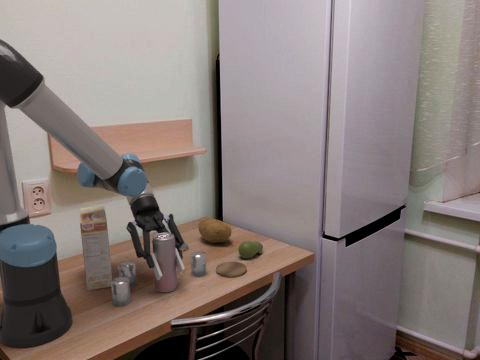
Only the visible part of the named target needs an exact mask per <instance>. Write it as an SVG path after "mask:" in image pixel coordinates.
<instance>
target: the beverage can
mask: <svg viewBox="0 0 480 360" xmlns="http://www.w3.org/2000/svg"><path fill="white" fill-rule="evenodd" d="M151 243H152V254H153V253H154V255H155V257H156V260H157V262H158V265H159V268H160V270H161V273H162V277H161V278H160V280H157V279H156V276H155V274H154V273H153V275H154V276H153V277H154V288H155V290H156V291H157V292H159V293H162V294H163V293H170V292H173V291H175V290H176V288H178V287H177V286H178V280H177V278H178V275H177V274H178V273H177V266H176V251H175V238H174V235H173V234H171V233H159V234H156V235H154V234H153V235H152V241H151Z"/></svg>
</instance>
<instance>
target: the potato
mask: <svg viewBox="0 0 480 360" xmlns="http://www.w3.org/2000/svg"><path fill="white" fill-rule="evenodd" d="M198 221H199V220H198ZM197 227H198V232H199V234H200V235H201V238H203V239H204V240H206V241H208V242H209V243H212V244H215V243H216V244H217V243H224V242H226V241H227V240H228V239H230V237H231V236H232V232H233V231H232V228H231V226H230V225H229V224H228V223H226V222H224V221H222V220H219V219H215V218H212V217H204V218H202V219H200V221H199V222H198V226H197Z"/></svg>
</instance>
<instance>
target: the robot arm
mask: <svg viewBox="0 0 480 360" xmlns="http://www.w3.org/2000/svg"><path fill="white" fill-rule="evenodd" d="M45 79H46V78H45V76H44V74H42V73H41V72H40V71H39V70H38V69H37V68H36V67H35V66H34V65H33V64H31V62H29V61H28V60H27V59H26V58H25V57H24V56H23V55H22V54H21V53H20V52H19V51H18V50H17V49H15V48H14V47H13V46H12V45H10V44H9V43H8V42H6V41H4V40H3V39H1V38H0V285H1V291H2V298H3V308H2V311H1V317H0V342H1V343H2V344H3V345H6V346H8V347H11V348H28V347H35V346H38V345H43V344H46V343H48V342H51V341H53V340H56V339H57V338H59V337H61V336H63V335H64V334H65V333H67V332H68V331H69V330H70V328H71V326H72V324H73V313H72V309H71V308H70V306H69V305H68V303H67V301H66V299H65V297H64V295H63V293H62V289H61V287H62V286H61V281H60V280H61V279H60V269H59V261H58V254H57V253H58V252H57V248H58V246H57V242H56V239H55V235H54V232H53V231H52V230H51V229H50V228H49V227H47V226H45V225H41V224H34V223H33V224H32V223H31V220H30V213H29V211H28V210H27V209H24V208H23V207H21V201H20V195H19V190H18V182H17V178H16V172H15V165H14V159H13V153H12V148H11V147H12V146H11V140H10V135H9V129H8V121H7V116H6V109H5V108H6V106H7V107H8V108H10V109H11V110H12V109H14V110H15V109H16V110H17V109H18V110H20V111H21V112H22V113H23V114H25V116H27V118H29V119H30V120H31V121H32V122H33V123H34V124H36V125H37V126H38V127H39V128H41V130H43V131H44V132H45V133H47V134H48V135H49V136H50V137H51V138H52V139H54V140H55V141H56V142H57V143H59V145H60V146H62V147H63V148H64V149H65V150H67V151H68V152H69V154H71V155H72V156H74V158H76V159H77V160H78V161H79V162H80V163H79V164H78V167H77V171H76V178H77V181H78V184H79V185H80V186H81V187H83V188H90V189H93V188H95V189H97V188H98V189H102V190H105V191H109V192H112V193H116V194H118V195H121V196H123V197H126V200H127V203H128V205H129V206H130V211H131V213H132V216H133V219H134V221H129V222H128V223H127V225H126V228H125V229H126V230H127V232H128V233H129V234H130V235H129V236H130V238H131V241H132V245H133V248H134V251H135V254H136V257H137V258H138V259H140V258H143V259H144V260H145V261H146V264H147V266H148V268H149V269H152V271H153V275H154V274H155V276H156V279H157V280H160V278H161V277H162V273H161V270H160V268H159V265H158V262H157V260H156V257H155V255H154V253H153V252H152V253H151V236H150V234H151V233H152V232H153V231H154V232H156V231H157V232H158V233H169V231H168V230H167V229H166V228H165V226H166V225H165V224H167V227H168V228H169V230H170V232H171V234H173V235H174V238H175V251H176V270H177V272H178V274H179V275H180V274H183V273H184V271H185V269H186V267H185V265H184V263H183V259H184V256H183V253H182V251H181V250H182V249H180V248H181V246H182V245H183V243H184V242H185V240H184V238H183V237H182V235H181V233H180V231H179V228H178V226H177V225H176V222H175V220H174V219H175V218H174V214H173V213H169V215H168V214H166V215H165V214H164V213H162V211H161V209H160V206H159V204H158V201H157V199H156V197H155V194H154V192H153V188H152V187H151V183H150V182H149V180H148V177H147V174H146V172H145V169H144V166H143V164H142V162H141V160H140V159H139V157H138V156H137V155H136V154H134V153H126V154H121V155H120V154H119V153H118V152H117V151H116V150H115V149H113V147H112V146H110V145H109V143H108V142H106V141H105V139H103V138H102V137H101V136H100V135H99V134H98V133H97V132H96V131H95V130H94V129H93V128H92V127H90V125H88V123H86V122H85V121H84V120H83V119H82V118H81V117H80V116H79V115H78V114H77V113H76V112H75V111H74V110H73V109H72V108H71V107H70V106H69V105H68V104H66V103H65V101H63V100H62V99H61V98H60V97H59V96H58V95H57V94H56V93H55V92H54V91H52V89H51V88H50V87H49V86H48V85H47V84H46V81H45ZM163 221H164V222H165V223H164V222H163ZM137 227H138V228H139V229H140V230H141V231H142V238H143V239H142V240H143V241H142V243H143V246H142V243H141V239H140V235H139V233H138V230H137Z"/></svg>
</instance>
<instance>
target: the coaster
mask: <svg viewBox="0 0 480 360" xmlns="http://www.w3.org/2000/svg"><path fill="white" fill-rule="evenodd" d="M215 272H216V274H217V275H218V276H220V277H224V278H238V277H241V276H244V275H245V274H246V273H247V265H245V264H244V263H242V262H239V261H225V262H222V263H219V264H218V265H216V267H215Z"/></svg>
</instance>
